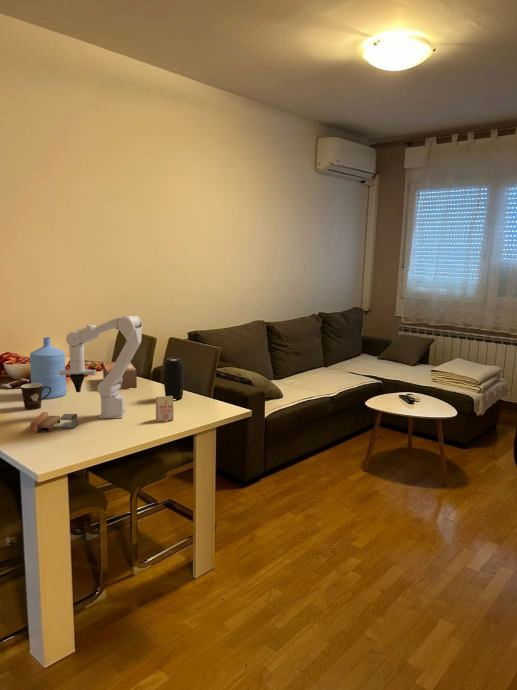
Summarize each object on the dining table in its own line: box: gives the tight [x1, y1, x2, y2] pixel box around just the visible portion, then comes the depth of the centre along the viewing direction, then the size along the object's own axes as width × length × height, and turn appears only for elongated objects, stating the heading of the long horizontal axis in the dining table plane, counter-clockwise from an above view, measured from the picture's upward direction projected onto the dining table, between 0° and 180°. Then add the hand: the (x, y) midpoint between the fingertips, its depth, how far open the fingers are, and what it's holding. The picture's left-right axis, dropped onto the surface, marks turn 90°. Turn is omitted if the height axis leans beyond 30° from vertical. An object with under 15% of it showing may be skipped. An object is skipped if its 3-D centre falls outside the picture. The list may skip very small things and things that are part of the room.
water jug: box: [29, 336, 68, 400], centre depth 238 cm, size 16×16×28 cm
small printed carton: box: [155, 396, 174, 422], centre depth 204 cm, size 4×7×10 cm, turn 108°
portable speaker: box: [163, 356, 185, 400], centre depth 237 cm, size 9×9×20 cm
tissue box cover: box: [102, 361, 138, 390], centre depth 265 cm, size 26×14×10 cm, turn 22°
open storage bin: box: [60, 413, 79, 430], centre depth 193 cm, size 5×5×4 cm
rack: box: [30, 411, 61, 434], centre depth 193 cm, size 7×14×4 cm, turn 6°
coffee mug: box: [20, 383, 51, 411], centre depth 218 cm, size 12×9×10 cm
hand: (78, 391), depth 211 cm, fingers closed
